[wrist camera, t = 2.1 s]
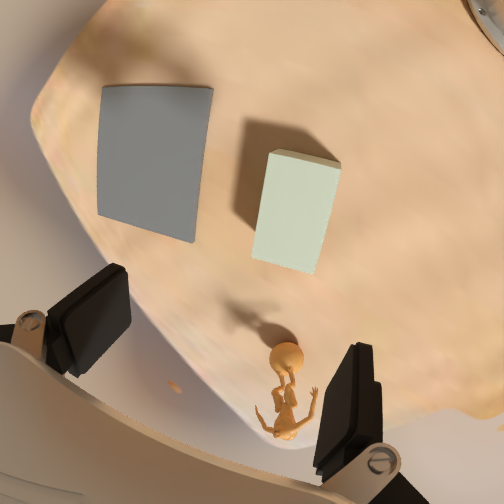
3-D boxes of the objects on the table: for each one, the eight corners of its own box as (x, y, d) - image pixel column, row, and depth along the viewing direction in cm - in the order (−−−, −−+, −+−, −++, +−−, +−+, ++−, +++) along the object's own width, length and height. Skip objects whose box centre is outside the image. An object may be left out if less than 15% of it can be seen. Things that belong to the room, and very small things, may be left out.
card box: (280, 148, 25) (269, 152, 21) (340, 162, 24) (341, 169, 20) (263, 238, 29) (250, 257, 25) (317, 252, 28) (313, 274, 24)
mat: (105, 87, 26) (102, 87, 26) (213, 89, 24) (210, 88, 23) (100, 213, 34) (97, 214, 33) (194, 241, 31) (191, 243, 31)
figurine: (308, 322, 32) (287, 409, 21) (336, 355, 32) (325, 440, 22) (254, 348, 36) (220, 424, 25) (283, 377, 36) (259, 452, 26)
